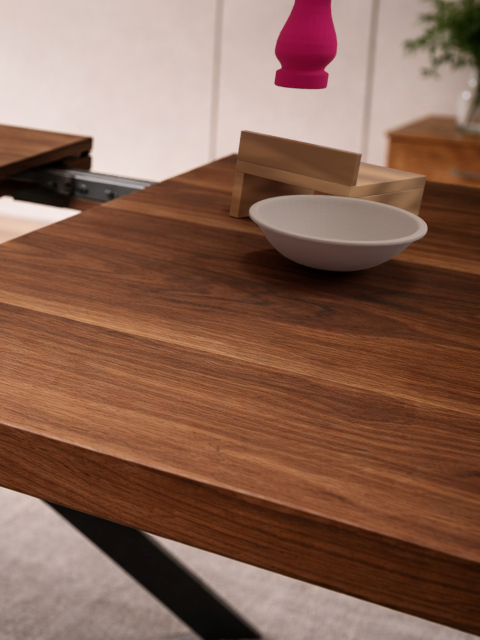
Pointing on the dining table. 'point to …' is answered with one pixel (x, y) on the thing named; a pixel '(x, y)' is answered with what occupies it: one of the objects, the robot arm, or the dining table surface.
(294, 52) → the pepper mill
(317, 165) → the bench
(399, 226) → the dish
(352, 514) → the dining table surface
